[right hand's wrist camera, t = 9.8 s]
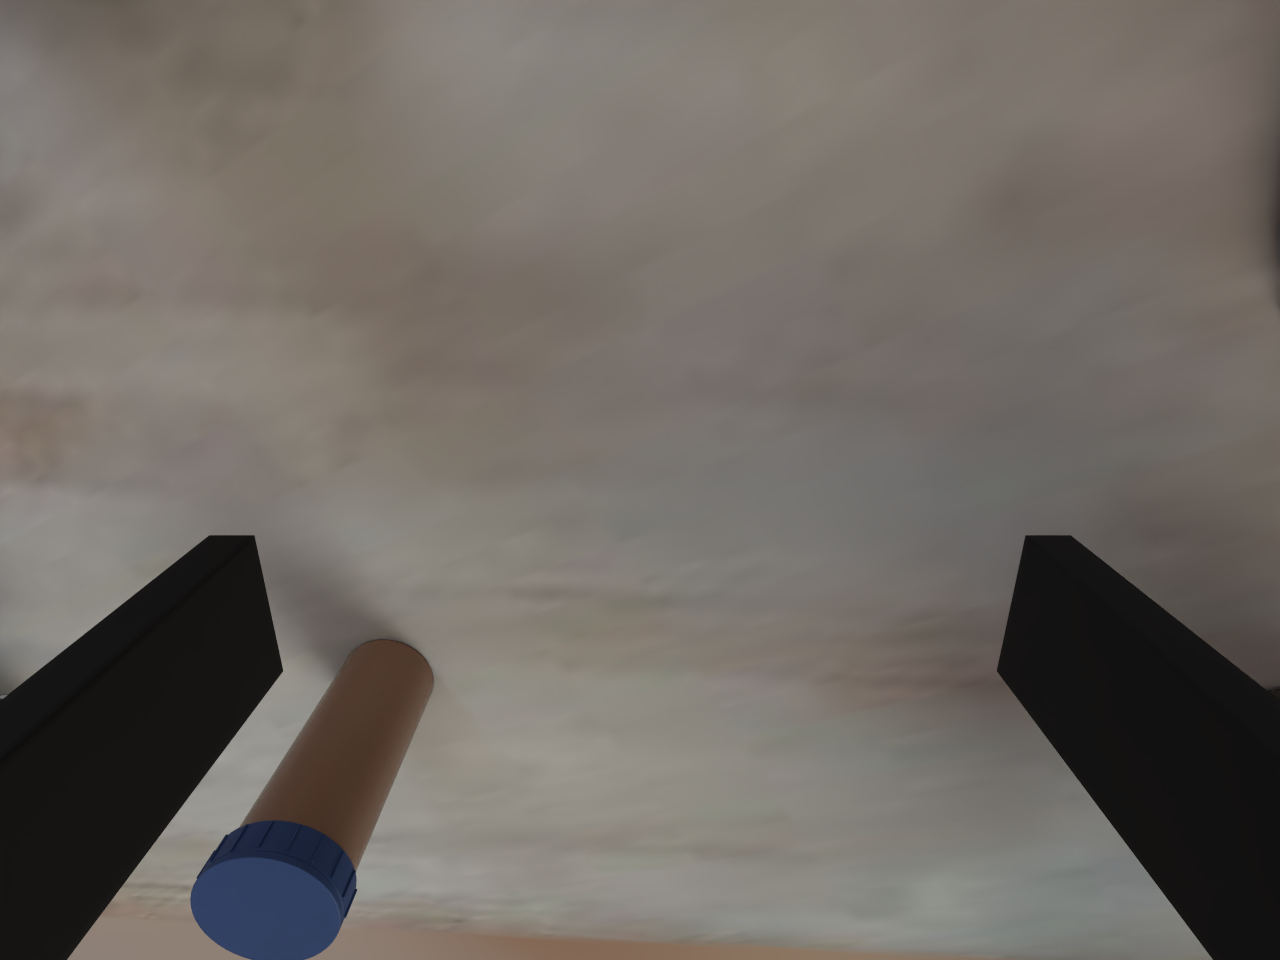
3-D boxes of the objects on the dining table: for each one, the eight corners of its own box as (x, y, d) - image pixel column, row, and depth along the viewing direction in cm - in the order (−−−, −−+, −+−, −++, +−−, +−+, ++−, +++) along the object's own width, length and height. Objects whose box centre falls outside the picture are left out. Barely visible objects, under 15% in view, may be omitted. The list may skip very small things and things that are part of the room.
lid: (226, 801, 31) (201, 838, 29) (373, 842, 31) (357, 881, 30) (203, 901, 33) (177, 941, 31) (340, 937, 34) (323, 979, 32)
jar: (355, 627, 44) (215, 838, 29) (444, 656, 45) (350, 875, 30) (334, 698, 46) (193, 929, 31) (420, 724, 46) (321, 961, 32)
